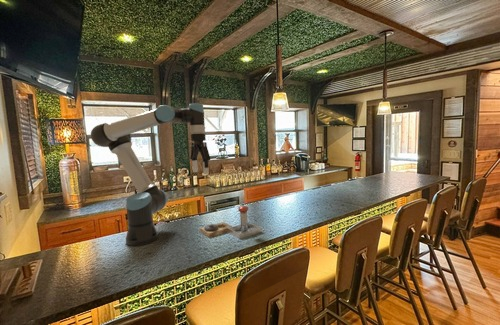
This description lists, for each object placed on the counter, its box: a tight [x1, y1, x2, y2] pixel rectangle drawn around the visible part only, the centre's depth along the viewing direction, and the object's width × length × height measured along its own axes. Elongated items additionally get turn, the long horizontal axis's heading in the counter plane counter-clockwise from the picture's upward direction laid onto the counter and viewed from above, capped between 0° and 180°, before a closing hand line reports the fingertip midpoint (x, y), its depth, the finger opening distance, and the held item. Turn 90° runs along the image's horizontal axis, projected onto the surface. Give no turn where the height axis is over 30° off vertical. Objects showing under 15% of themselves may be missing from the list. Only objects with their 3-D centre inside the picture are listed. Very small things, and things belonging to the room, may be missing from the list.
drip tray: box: [227, 221, 262, 240], centre depth 129 cm, size 13×11×3 cm
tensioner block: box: [199, 222, 233, 238], centre depth 132 cm, size 14×10×5 cm
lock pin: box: [238, 205, 249, 233], centre depth 128 cm, size 5×5×14 cm
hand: (200, 173), depth 135 cm, fingers open, 13 cm apart
